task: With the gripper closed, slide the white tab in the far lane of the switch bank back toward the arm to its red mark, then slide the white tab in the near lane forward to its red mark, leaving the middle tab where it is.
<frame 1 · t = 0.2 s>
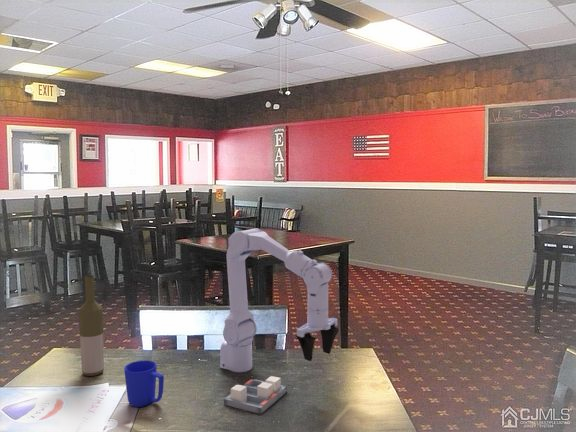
hand: (317, 356, 137), 10 cm above the table, fingers open, 7 cm apart
switch bank: (256, 401, 132), on the table
tab near: (238, 395, 129), point 3 cm above the table, slide at 0.0 cm
mug: (146, 405, 131), on the table
tab mid: (265, 392, 131), point 3 cm above the table, slide at 0.0 cm
bottle: (93, 373, 151), on the table
tab far: (273, 386, 135), point 3 cm above the table, slide at 0.0 cm
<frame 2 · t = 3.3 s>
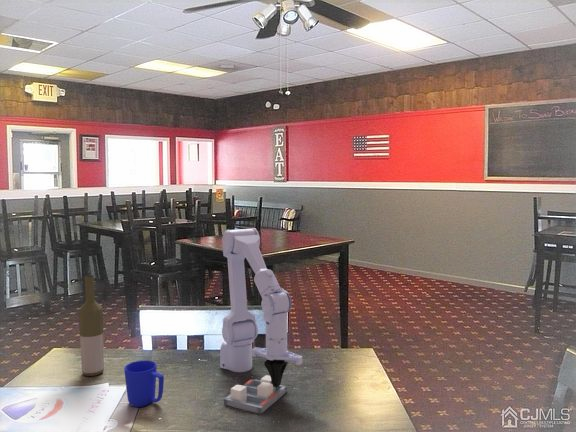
hand: (276, 385, 134), 3 cm above the table, fingers closed
tab far: (268, 385, 136), point 3 cm above the table, slide at 1.5 cm, touching gripper
everything else where it was.
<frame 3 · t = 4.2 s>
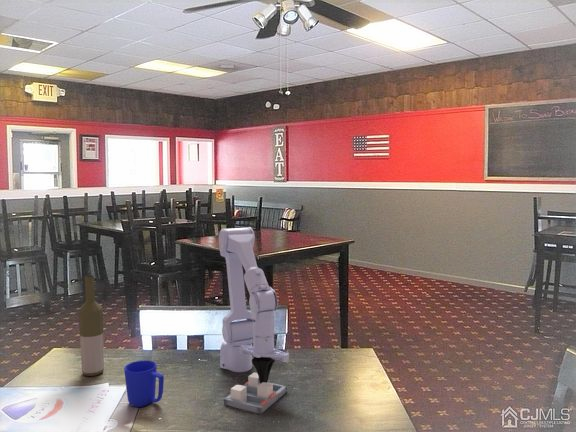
hand: (263, 382, 136), 3 cm above the table, fingers closed
tab far: (255, 382, 137), point 3 cm above the table, slide at 5.5 cm, touching gripper
everything else where it was.
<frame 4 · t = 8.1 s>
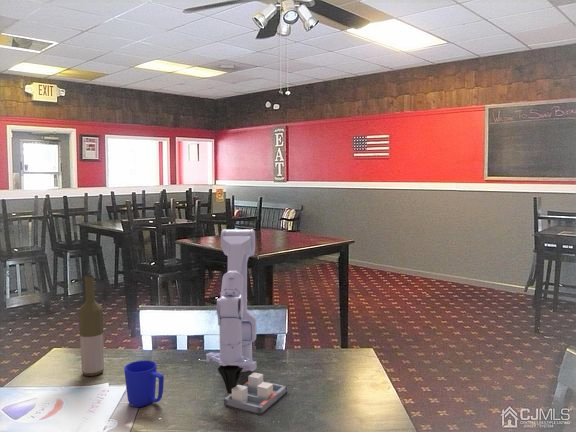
hand: (231, 391, 130), 3 cm above the table, fingers closed
tab near: (239, 395, 129), point 3 cm above the table, slide at 0.3 cm, touching gripper
tab far: (255, 382, 137), point 3 cm above the table, slide at 5.5 cm
everything else where it was.
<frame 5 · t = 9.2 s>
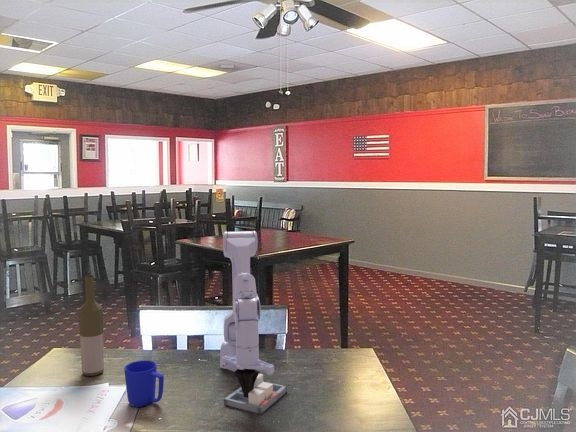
hand: (247, 395, 128), 3 cm above the table, fingers closed
tab near: (256, 399, 127), point 3 cm above the table, slide at 5.4 cm, touching gripper
everything else where it was.
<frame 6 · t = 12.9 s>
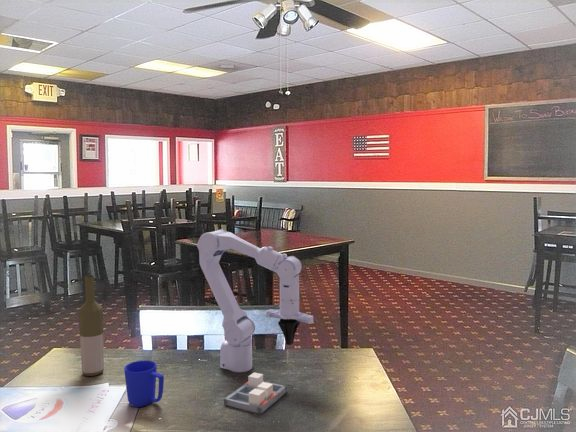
hand: (289, 343, 147), 10 cm above the table, fingers closed
tab near: (256, 399, 127), point 3 cm above the table, slide at 5.5 cm
everything else where it was.
at the end: tab far slide at 5.5 cm; tab near slide at 5.5 cm; tab mid slide at 0.0 cm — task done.
